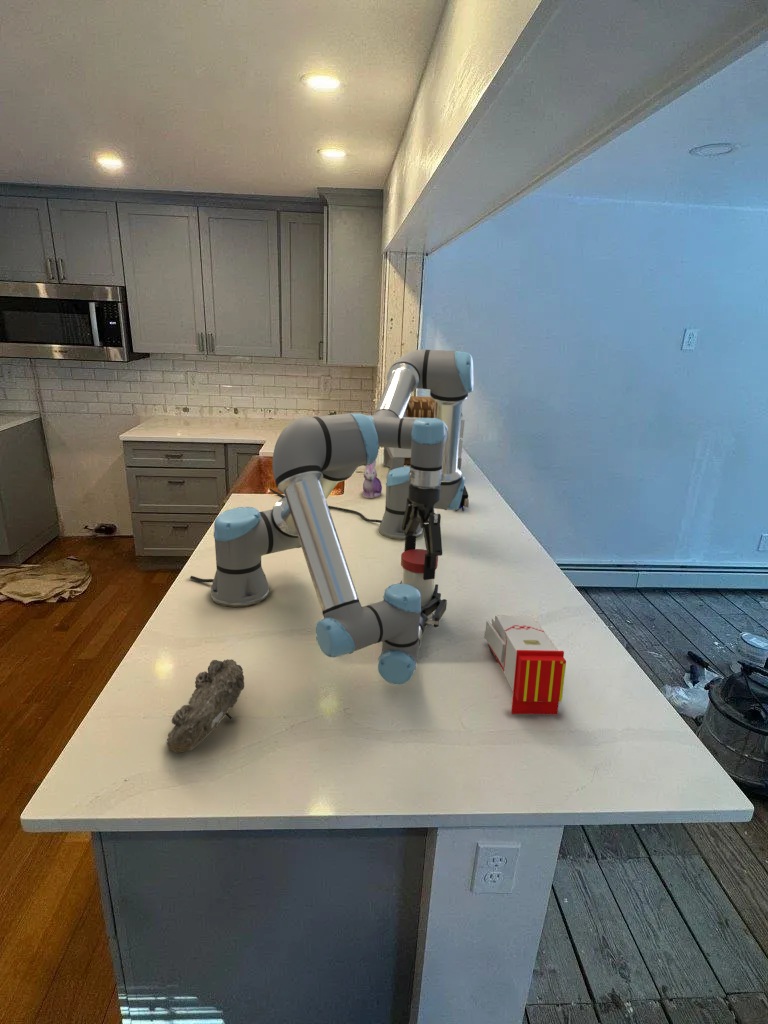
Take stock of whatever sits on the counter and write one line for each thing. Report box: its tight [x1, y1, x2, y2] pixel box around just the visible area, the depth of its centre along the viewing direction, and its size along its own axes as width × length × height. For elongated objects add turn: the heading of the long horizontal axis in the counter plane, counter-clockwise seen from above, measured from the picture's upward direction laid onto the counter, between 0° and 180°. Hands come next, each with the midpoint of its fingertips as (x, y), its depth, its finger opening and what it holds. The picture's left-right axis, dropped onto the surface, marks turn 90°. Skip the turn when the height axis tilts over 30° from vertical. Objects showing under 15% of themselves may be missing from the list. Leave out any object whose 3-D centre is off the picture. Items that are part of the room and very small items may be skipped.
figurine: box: [361, 459, 383, 499], centre depth 237 cm, size 9×10×15 cm
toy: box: [484, 614, 567, 716], centre depth 124 cm, size 12×13×30 cm
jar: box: [401, 566, 436, 618], centre depth 144 cm, size 8×8×17 cm
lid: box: [400, 548, 439, 573], centre depth 141 cm, size 9×9×2 cm
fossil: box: [166, 658, 245, 754], centre depth 106 cm, size 22×10×15 cm
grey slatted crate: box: [383, 395, 465, 472], centre depth 268 cm, size 34×33×41 cm
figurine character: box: [455, 485, 470, 512], centre depth 229 cm, size 7×8×15 cm
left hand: (419, 586), depth 149 cm, fingers closed on jar, 8 cm apart
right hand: (418, 569), depth 142 cm, fingers open, 11 cm apart
